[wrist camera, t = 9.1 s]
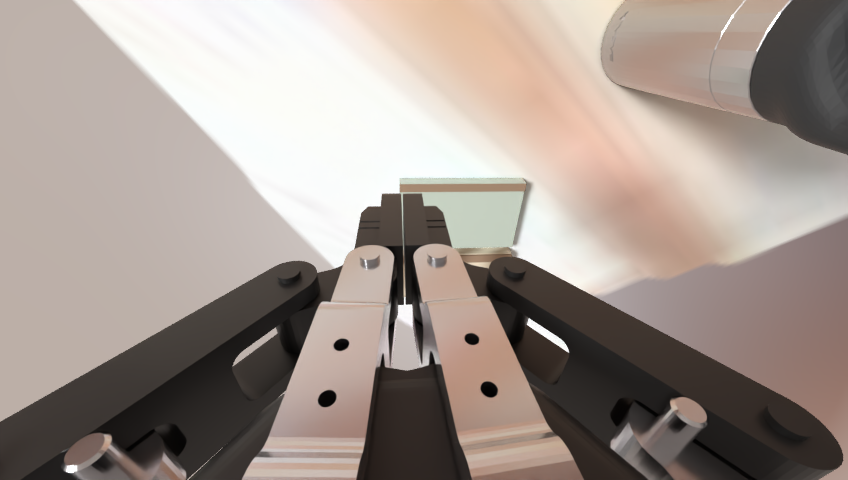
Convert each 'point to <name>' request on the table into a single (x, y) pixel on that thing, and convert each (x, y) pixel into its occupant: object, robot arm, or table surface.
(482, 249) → the ash board
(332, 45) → the table surface
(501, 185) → the sage plank
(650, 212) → the table surface
